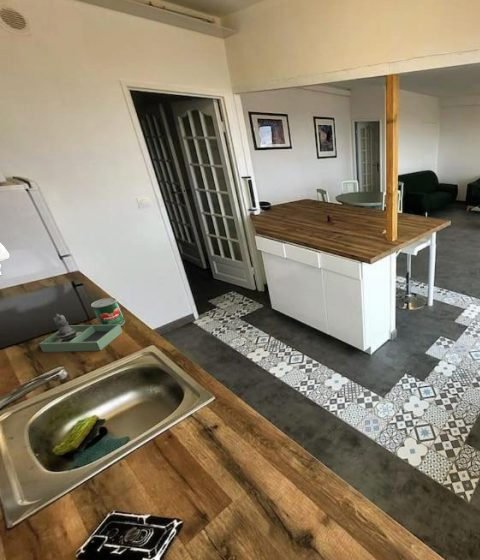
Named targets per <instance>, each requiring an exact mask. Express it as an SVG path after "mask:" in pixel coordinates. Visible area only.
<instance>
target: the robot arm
mask: <svg viewBox="0 0 480 560" xmlns="http://www.w3.org/2000/svg"><path fill="white" fill-rule="evenodd" d="M9 259H10V253H9V251H8V250H7V248H6V247H5V246H4V245H3V244H2V243H1V242H0V269H2V268H1V267H2V264H1V262H4V261H6V260H9ZM2 275H3V274H2V272H1V271H0V276H2Z"/></svg>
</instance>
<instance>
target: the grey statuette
mask: <svg viewBox="0 0 480 560" xmlns="http://www.w3.org/2000/svg"><path fill="white" fill-rule="evenodd" d="M53 321H54V322H55V327H56V328H57V329H58V331H59V332H58V331H57V332H58V333H57V334H56V337H58V338H59V339H62V341H61V342H69V341H71V340H72V339H74V338H75V337H76V336H75V335H76V334H77V329H76V328H71V327H69V321H68V320H66V318H65V316H64V315H63V314H59V313H56V314H55V316H54V317H53Z"/></svg>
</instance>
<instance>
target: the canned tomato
mask: <svg viewBox="0 0 480 560" xmlns="http://www.w3.org/2000/svg"><path fill="white" fill-rule="evenodd" d="M90 307H91V308H92V310H93V314H94V315H95V317H96V319H97V321H98V324H99V325H109V324H120V326H123V325H124V324H125V323H126V320H125V318H124V317H125V316H124V315H123V313H122V310H121V308H120V306H119V303H118V301H117V299H116V298H115V297H104V298H100V299H98V300H95V301H93V302H92V303H91V304H90Z"/></svg>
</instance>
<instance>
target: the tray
mask: <svg viewBox="0 0 480 560" xmlns="http://www.w3.org/2000/svg"><path fill="white" fill-rule="evenodd" d="M68 325H69V324H68ZM121 326H122V325H121ZM121 326H120V324H109V325H100V324H76V325H75V324H73V325H69V327H71V328H76V329H77V334H76V335H75V336H76V337H75V338H74V339H72V340H71V341H69V342H61V341H62V339H59V338H58V337H56V334H57V333H58V332H59V330H57V331H56V332H54V333H53V334H51V335H50V336H48V337H47V338H45V339H44V340H42V341H41V342H39V343H38V346H39V347H40V349H41V351H42V352H43V353H62V352H91V351H92V352H93V351H94V352H95V351H102V350H103V349H105V348H106V347H107V346H108V345H109V344H111V342H113V340H115V339H116V338H117V337H119V336H120V335H121V334H122V333H123V328H122V327H121Z"/></svg>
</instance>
